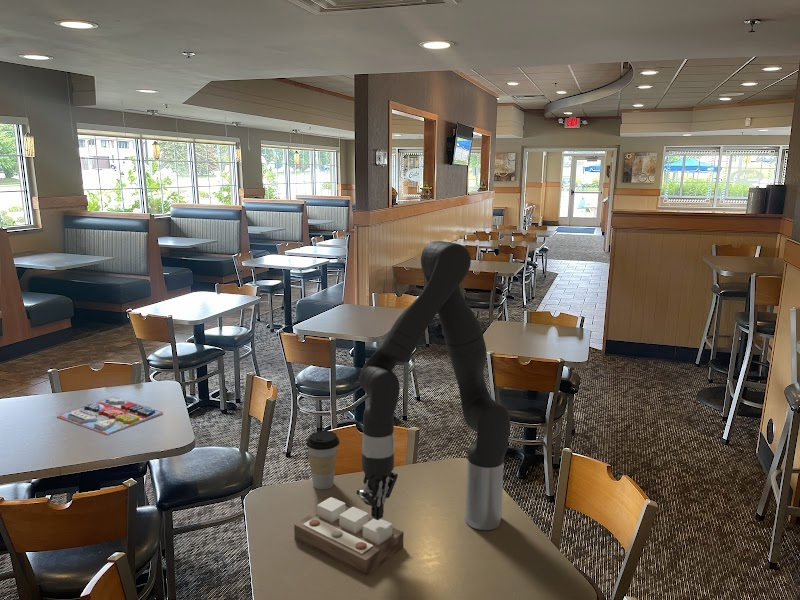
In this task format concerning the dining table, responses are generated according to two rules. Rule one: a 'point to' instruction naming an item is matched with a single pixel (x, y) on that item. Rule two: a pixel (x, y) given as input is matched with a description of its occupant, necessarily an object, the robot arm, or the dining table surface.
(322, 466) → the coffee cup
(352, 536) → the button panel
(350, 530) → the button
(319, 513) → the button
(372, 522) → the button
